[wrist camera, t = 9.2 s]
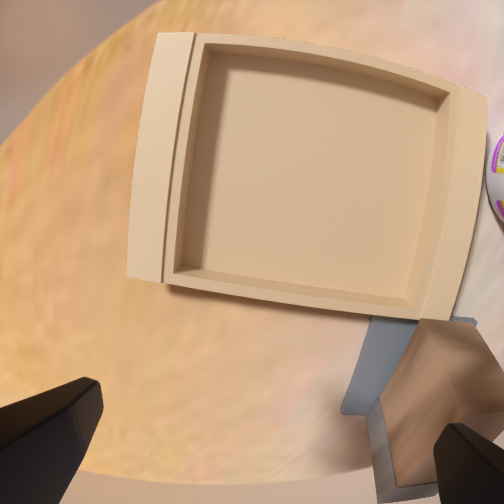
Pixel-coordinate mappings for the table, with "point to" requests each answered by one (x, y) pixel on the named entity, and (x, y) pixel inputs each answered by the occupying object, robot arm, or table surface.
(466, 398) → the box
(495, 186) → the supplement bottle
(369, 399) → the coaster
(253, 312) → the table surface
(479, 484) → the robot arm
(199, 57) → the tray
